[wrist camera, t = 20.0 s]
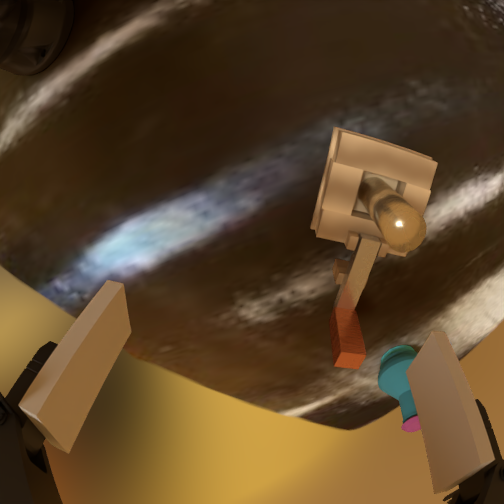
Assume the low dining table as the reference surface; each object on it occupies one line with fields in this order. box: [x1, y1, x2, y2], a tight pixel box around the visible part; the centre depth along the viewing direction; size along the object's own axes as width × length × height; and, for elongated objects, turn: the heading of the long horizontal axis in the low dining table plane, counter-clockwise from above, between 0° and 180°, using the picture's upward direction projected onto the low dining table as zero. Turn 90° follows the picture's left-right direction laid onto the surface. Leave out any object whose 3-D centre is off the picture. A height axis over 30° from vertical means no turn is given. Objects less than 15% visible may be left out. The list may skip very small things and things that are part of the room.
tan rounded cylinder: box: [358, 177, 426, 253], centre depth 29 cm, size 4×4×12 cm
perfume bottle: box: [378, 345, 421, 432], centre depth 41 cm, size 9×9×15 cm
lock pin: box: [329, 233, 381, 369], centre depth 32 cm, size 12×3×10 cm, turn 171°
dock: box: [310, 127, 437, 289], centre depth 34 cm, size 18×13×5 cm
